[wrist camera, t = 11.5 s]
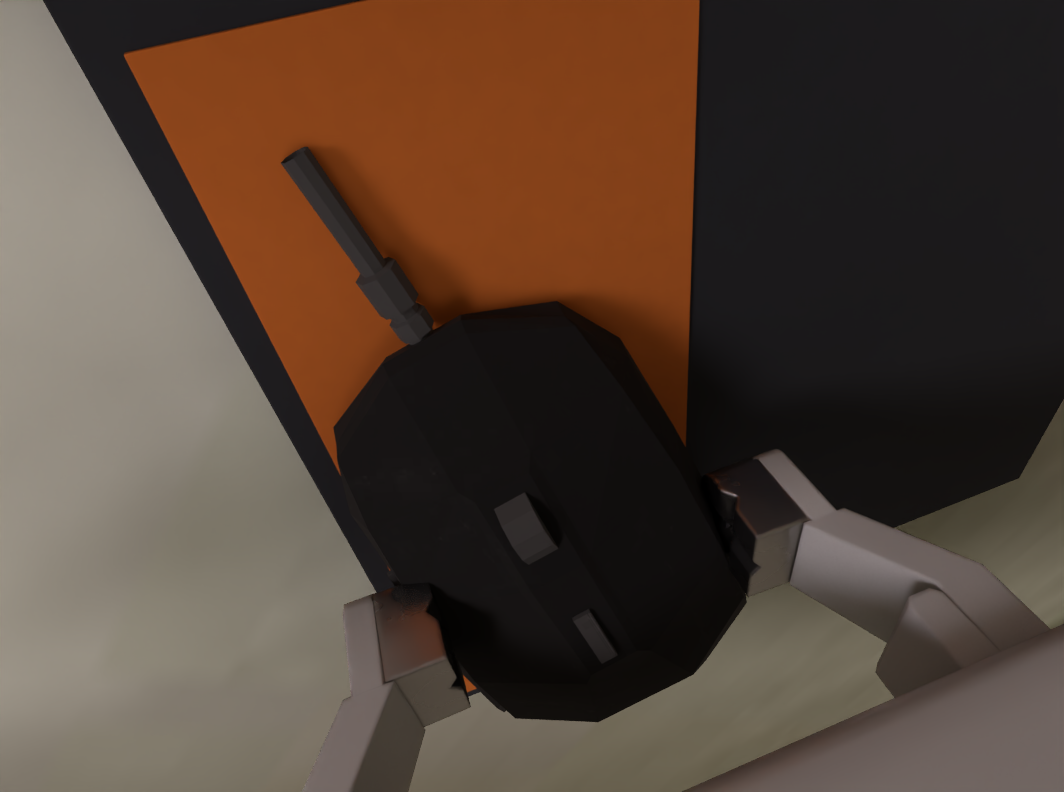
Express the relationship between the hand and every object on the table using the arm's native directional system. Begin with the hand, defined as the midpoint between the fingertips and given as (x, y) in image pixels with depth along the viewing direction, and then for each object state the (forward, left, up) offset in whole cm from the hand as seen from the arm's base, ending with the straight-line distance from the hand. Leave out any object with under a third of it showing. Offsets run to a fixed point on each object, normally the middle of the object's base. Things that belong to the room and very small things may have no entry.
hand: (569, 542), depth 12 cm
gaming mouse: (0, 0, -2) cm, 2 cm away
